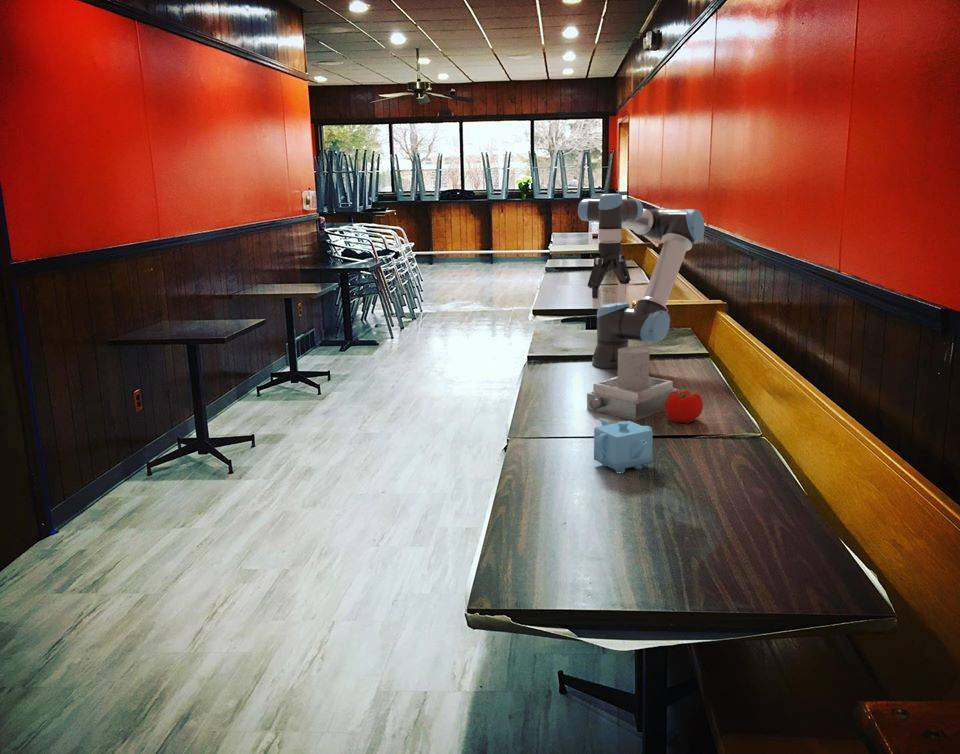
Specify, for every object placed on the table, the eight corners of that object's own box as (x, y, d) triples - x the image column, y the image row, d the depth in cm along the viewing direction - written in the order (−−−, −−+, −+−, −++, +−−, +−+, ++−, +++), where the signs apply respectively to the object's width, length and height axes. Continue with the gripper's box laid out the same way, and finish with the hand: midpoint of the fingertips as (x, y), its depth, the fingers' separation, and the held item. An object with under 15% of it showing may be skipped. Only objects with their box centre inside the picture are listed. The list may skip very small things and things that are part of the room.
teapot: (618, 483, 185) (618, 437, 183) (574, 460, 201) (574, 417, 198) (671, 470, 192) (672, 425, 190) (625, 449, 208) (626, 407, 205)
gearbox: (630, 394, 259) (630, 371, 257) (677, 404, 246) (678, 380, 244) (580, 411, 242) (580, 386, 240) (629, 423, 229) (629, 397, 227)
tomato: (708, 419, 230) (709, 390, 228) (689, 428, 223) (690, 399, 221) (675, 413, 237) (676, 385, 235) (656, 421, 230) (657, 392, 228)
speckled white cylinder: (647, 385, 248) (648, 346, 245) (650, 393, 238) (651, 353, 235) (616, 385, 249) (616, 346, 246) (618, 393, 239) (618, 353, 236)
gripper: (623, 238, 274) (622, 299, 279) (576, 244, 257) (576, 309, 262) (641, 239, 268) (640, 301, 273) (595, 245, 252) (594, 311, 257)
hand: (609, 305), depth 268 cm, fingers open, 13 cm apart
